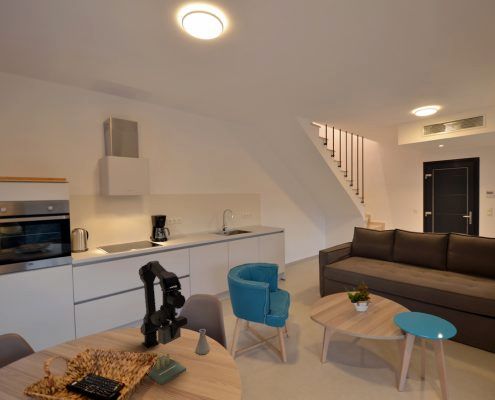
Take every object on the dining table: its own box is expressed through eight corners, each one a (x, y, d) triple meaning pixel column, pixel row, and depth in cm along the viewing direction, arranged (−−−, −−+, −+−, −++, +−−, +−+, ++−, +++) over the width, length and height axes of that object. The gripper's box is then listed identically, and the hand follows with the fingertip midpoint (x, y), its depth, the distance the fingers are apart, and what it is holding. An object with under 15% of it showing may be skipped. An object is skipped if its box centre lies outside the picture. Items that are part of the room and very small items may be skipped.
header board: (140, 369, 119) (140, 356, 119) (164, 357, 128) (164, 345, 128) (161, 384, 109) (161, 370, 109) (186, 370, 118) (186, 357, 118)
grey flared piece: (207, 355, 129) (207, 334, 129) (192, 354, 131) (192, 333, 131) (212, 347, 136) (212, 327, 136) (198, 346, 138) (198, 326, 138)
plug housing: (158, 341, 122) (158, 328, 122) (174, 334, 129) (174, 321, 129) (164, 344, 119) (164, 330, 119) (180, 336, 126) (180, 323, 126)
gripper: (141, 303, 123) (141, 338, 123) (167, 312, 112) (167, 351, 112) (162, 296, 132) (162, 329, 132) (188, 304, 121) (188, 340, 121)
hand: (169, 337), depth 124 cm, fingers closed on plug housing, 4 cm apart
